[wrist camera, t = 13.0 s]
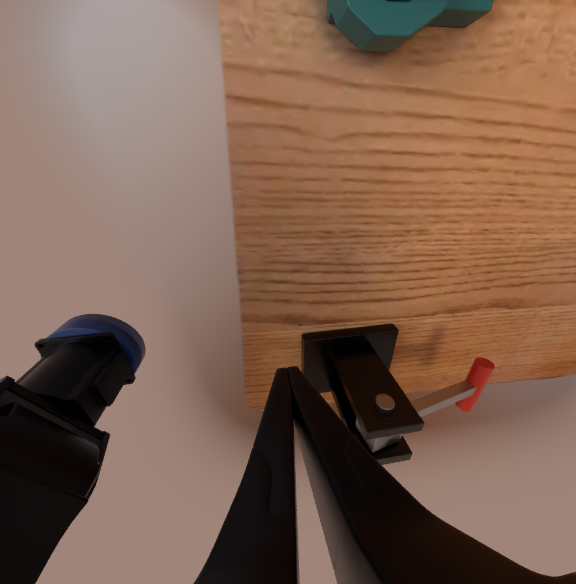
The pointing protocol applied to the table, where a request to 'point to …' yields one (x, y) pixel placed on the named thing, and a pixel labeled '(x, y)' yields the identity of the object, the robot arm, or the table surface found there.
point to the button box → (399, 19)
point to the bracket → (362, 384)
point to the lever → (445, 399)
